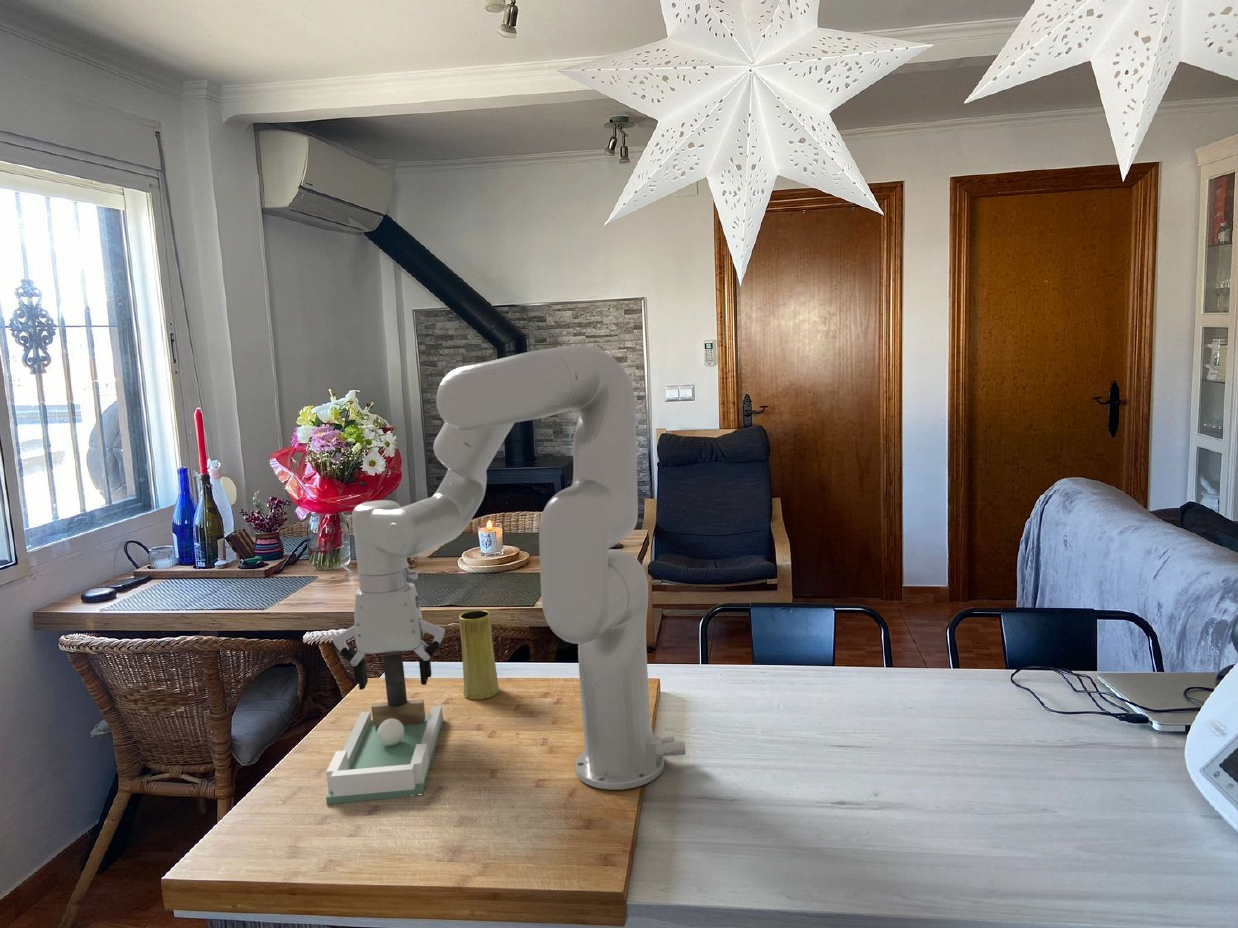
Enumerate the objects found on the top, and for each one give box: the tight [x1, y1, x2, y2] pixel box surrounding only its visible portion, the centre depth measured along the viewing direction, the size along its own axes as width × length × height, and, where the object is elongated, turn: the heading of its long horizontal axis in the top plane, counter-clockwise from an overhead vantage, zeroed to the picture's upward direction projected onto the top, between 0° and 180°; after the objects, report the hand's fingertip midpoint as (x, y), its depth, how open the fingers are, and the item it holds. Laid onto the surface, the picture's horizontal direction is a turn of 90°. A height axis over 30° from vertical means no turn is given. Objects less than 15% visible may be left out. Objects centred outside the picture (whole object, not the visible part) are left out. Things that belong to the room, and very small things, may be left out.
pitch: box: [325, 704, 444, 805], centre depth 139 cm, size 13×24×4 cm, turn 4°
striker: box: [370, 651, 426, 726], centre depth 148 cm, size 8×3×11 cm, turn 94°
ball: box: [377, 718, 404, 746], centre depth 142 cm, size 4×4×4 cm
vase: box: [458, 609, 500, 701], centre depth 160 cm, size 6×6×14 cm
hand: (394, 683), depth 148 cm, fingers open, 9 cm apart
